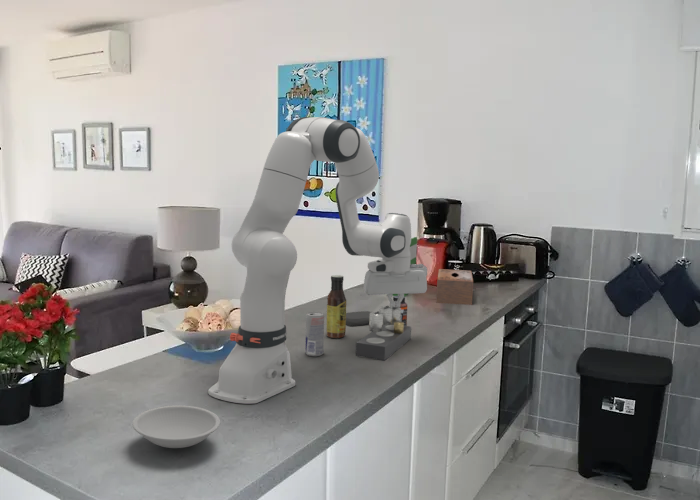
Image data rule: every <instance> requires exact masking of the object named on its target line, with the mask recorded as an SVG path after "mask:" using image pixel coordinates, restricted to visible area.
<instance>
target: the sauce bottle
mask: <svg viewBox="0 0 700 500" xmlns="http://www.w3.org/2000/svg"><path fill="white" fill-rule="evenodd" d="M330 280H331V281H330V282H331V284H330V285H331V286H330V291H329V293H328V294H327V302H326V303H327V304H326V329H325V330H326V336H327V337H328V338H330V339H340V338H344V337H346V327H347V325H346V313H347V297H346V295H345V292H344V276H343V275H341V274H336V275H331V276H330Z"/></svg>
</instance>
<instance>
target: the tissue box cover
mask: <svg viewBox="0 0 700 500" xmlns="http://www.w3.org/2000/svg"><path fill="white" fill-rule="evenodd" d="M436 280H437V283H436V298H435V299H436V303H437V304H450V305H451V304H452V305H466V306H467V305H468V306H472V305H473V294H474V290H473V289H474V278H473V273H472V270H464V269H463V270H462V269H446V268H445V269H443V268H439V269H438V273H437V279H436Z"/></svg>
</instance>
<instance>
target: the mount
mask: <svg viewBox="0 0 700 500" xmlns="http://www.w3.org/2000/svg"><path fill="white" fill-rule="evenodd" d="M411 337H412V326H404V330H403V333H401V334H397V333H394V325H387V326H385V325H383V331H381V332H371V331H370V332H369V333H368V334H367V335H365V336H364V337H362V338H360V339H359V340H358V341H356V342H355V356H356V357H360V358H368V359H374V360H381V361H386V360H387V359H388V358H390V357H391V356H392V355H393V354H394V353H395V352H396V351H398V350H399V349H400V348H401V347H403V346H404V345H405V344H406V343H407V342H408V341H410V340H411Z"/></svg>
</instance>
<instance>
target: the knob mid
mask: <svg viewBox="0 0 700 500" xmlns="http://www.w3.org/2000/svg"><path fill="white" fill-rule="evenodd" d="M378 311H379V312H381V313H383V325H385V326H387V325H392V307H390V305H386V306H385V305H383V306H379V308H378Z"/></svg>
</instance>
